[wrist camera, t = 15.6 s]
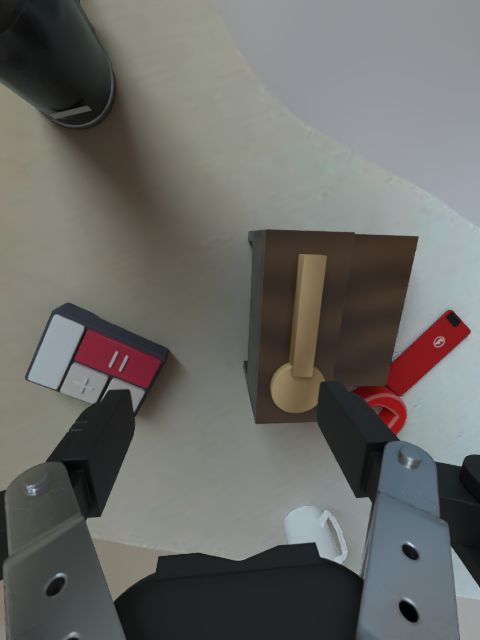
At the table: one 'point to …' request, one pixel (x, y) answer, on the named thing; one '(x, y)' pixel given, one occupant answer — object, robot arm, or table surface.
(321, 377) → the spoon
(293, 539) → the cup
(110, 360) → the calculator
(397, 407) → the decorative ornament
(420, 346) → the electronic device
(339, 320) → the shelf
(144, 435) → the table surface
